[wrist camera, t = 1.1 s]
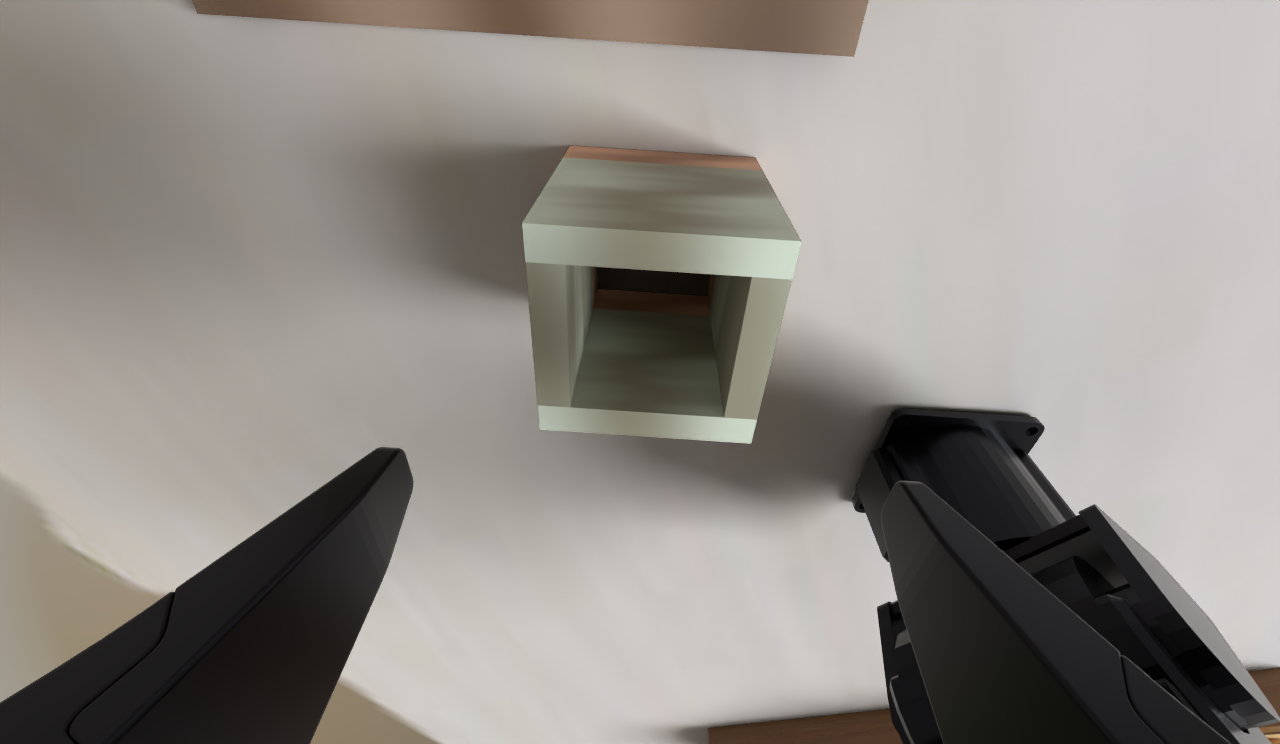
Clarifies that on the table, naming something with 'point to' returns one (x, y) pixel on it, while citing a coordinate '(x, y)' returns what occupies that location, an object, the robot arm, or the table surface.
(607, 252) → the sleeve
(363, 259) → the table surface
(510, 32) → the pin board
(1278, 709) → the chess set
